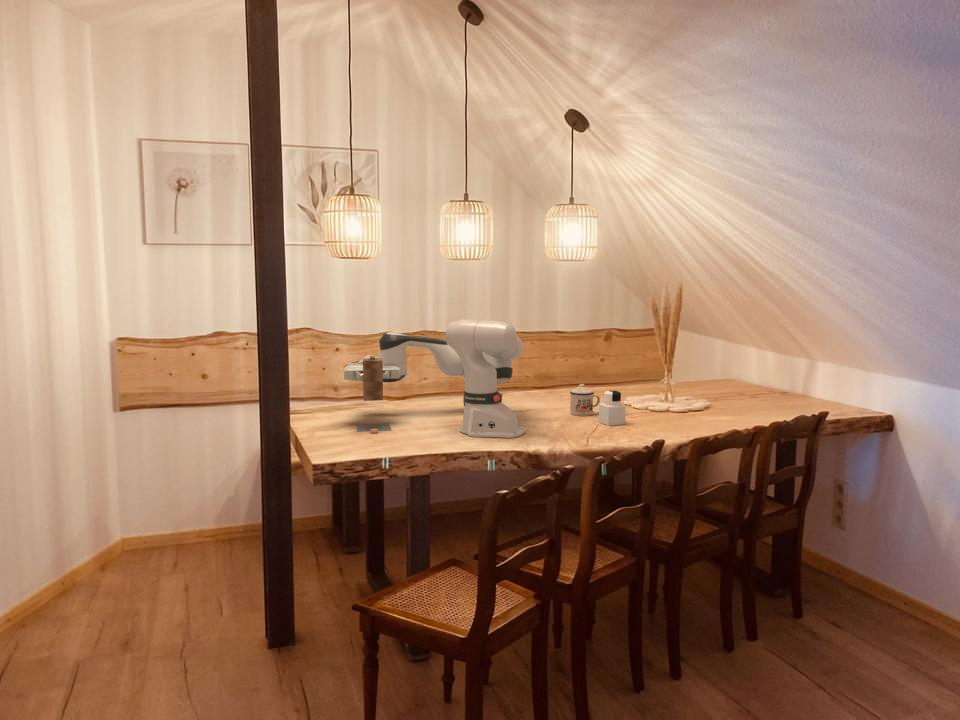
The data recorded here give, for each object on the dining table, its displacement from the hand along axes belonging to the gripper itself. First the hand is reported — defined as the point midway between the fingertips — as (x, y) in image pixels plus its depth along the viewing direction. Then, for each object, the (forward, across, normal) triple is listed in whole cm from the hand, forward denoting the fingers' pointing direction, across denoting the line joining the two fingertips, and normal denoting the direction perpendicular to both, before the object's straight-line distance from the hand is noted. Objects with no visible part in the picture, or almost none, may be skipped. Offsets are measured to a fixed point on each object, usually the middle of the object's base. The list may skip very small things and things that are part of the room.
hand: (372, 376), depth 285 cm
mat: (-1, 0, -19) cm, 19 cm away
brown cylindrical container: (-1, 0, -8) cm, 8 cm away
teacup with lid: (-14, -82, -19) cm, 85 cm away
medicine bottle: (+4, -86, -19) cm, 88 cm away
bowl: (+7, 0, -19) cm, 20 cm away
